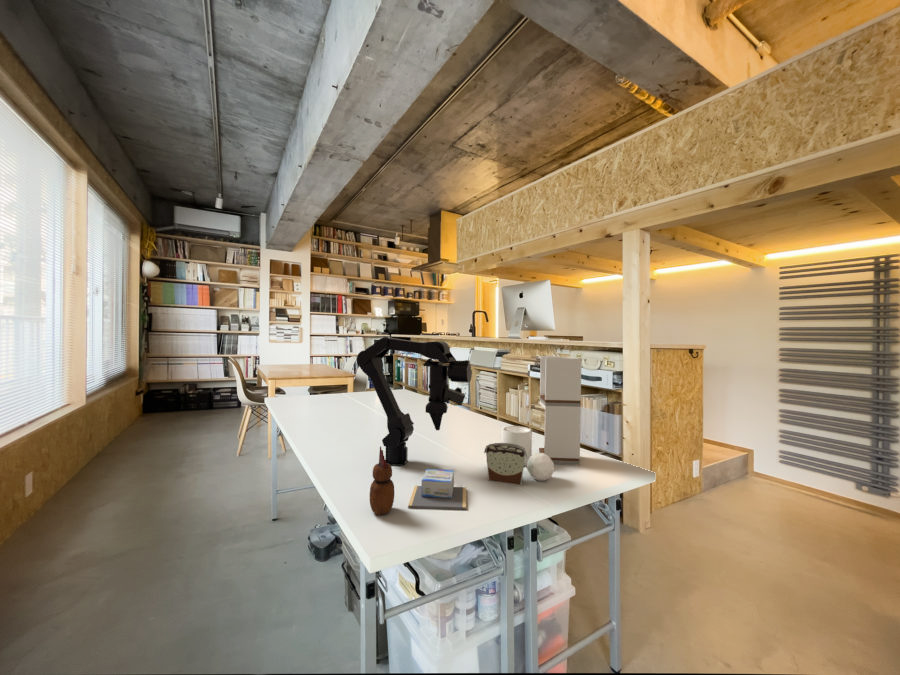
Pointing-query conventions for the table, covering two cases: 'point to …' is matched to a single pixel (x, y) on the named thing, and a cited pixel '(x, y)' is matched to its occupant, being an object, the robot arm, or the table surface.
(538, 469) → the geometric ball
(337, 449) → the table surface
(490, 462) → the multicoloured piece
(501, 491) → the table surface
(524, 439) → the mug
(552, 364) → the stacked beige boxes
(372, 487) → the wooden figurine
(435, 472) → the medicine box
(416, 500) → the mat
